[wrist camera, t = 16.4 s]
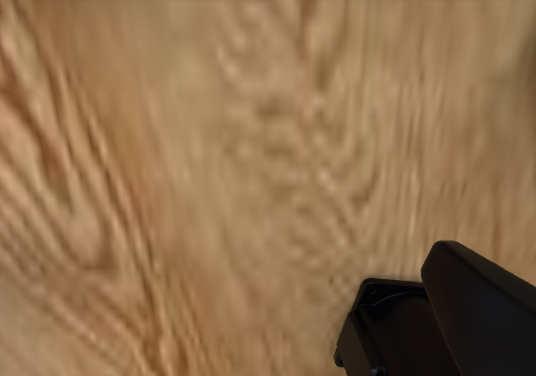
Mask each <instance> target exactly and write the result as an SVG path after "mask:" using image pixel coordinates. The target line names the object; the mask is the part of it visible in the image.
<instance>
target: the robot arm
mask: <svg viewBox="0 0 536 376" xmlns="http://www.w3.org/2000/svg"><path fill="white" fill-rule="evenodd" d="M421 278H422V281H423V283H419V282H409V281H398V280H388V279H377V278H368V279H366V280H364V281H363V282H362V284H361V286H360V289H359V291H358V294H357V296H356V299H355V302H354V304H353V307H352V310H351V311H350V312H349V313H348V315H347V317H346V320H345V323H344V325H343V328H342V331H341V333H340V336H339V339H338V341H337V349H336V352H335V354H334V361H335V364H336V366H338V367H344V368H345V371H346V373H347V376H536V287H535V286H533V285H531V284H530V283H528V282H526V281H524V280H523V279H521V278H519V277H517V276H516V275H514V274H512V273H511V272H509V271H507V270H505V269H504V268H502V267H500V266H498V265H497V264H495V263H493V262H491V261H490V260H488V259H486V258H485V257H483V256H481V255H479V254H478V253H476V252H474V251H472V250H471V249H469V248H467V247H465V246H464V245H462V244H460V243H459V242H456V241H452V240H446V241H437V242H436V243H434V245H433V246H432V248H431V250H430V252H429V254H428V256H427V258H426V260H425V262H424V264H423V266H422V268H421ZM371 286H373V287H372V288H370V289H368V288H369V287H371Z"/></svg>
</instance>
